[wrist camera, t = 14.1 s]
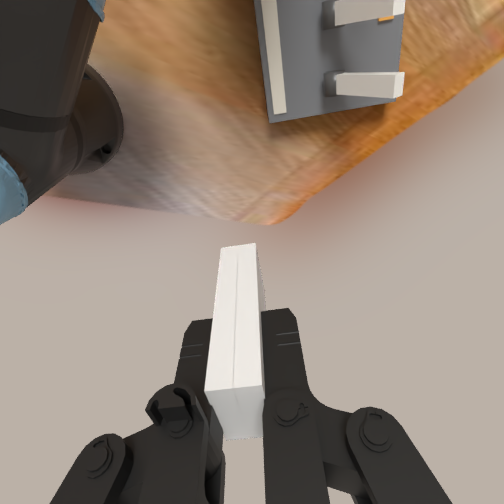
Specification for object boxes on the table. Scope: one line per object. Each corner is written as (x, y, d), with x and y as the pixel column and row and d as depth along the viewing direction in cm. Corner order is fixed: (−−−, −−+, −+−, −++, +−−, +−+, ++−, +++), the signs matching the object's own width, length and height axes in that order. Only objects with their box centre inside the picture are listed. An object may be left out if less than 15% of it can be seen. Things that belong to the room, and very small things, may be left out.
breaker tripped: (317, 31, 34) (386, 19, 26) (317, 3, 32) (389, -18, 24) (336, 27, 34) (409, 15, 26) (336, 0, 33) (413, -22, 25)
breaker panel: (268, 118, 42) (269, 123, 40) (242, -91, 31) (241, -103, 28) (386, 97, 41) (396, 101, 38) (404, -128, 30) (420, -145, 27)
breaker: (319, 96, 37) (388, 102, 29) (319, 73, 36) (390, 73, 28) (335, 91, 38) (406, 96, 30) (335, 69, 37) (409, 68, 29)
